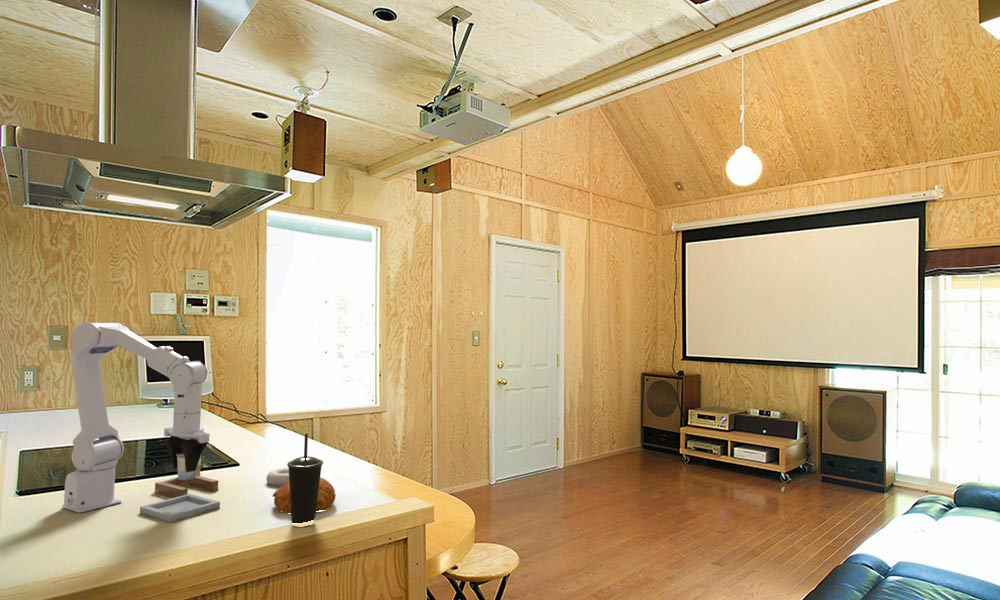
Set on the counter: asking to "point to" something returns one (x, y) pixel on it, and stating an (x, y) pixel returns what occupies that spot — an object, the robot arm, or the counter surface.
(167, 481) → the notch block
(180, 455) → the salt shaker
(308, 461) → the drinking cup
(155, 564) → the counter surface
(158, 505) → the dish
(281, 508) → the croissant
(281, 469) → the donut
